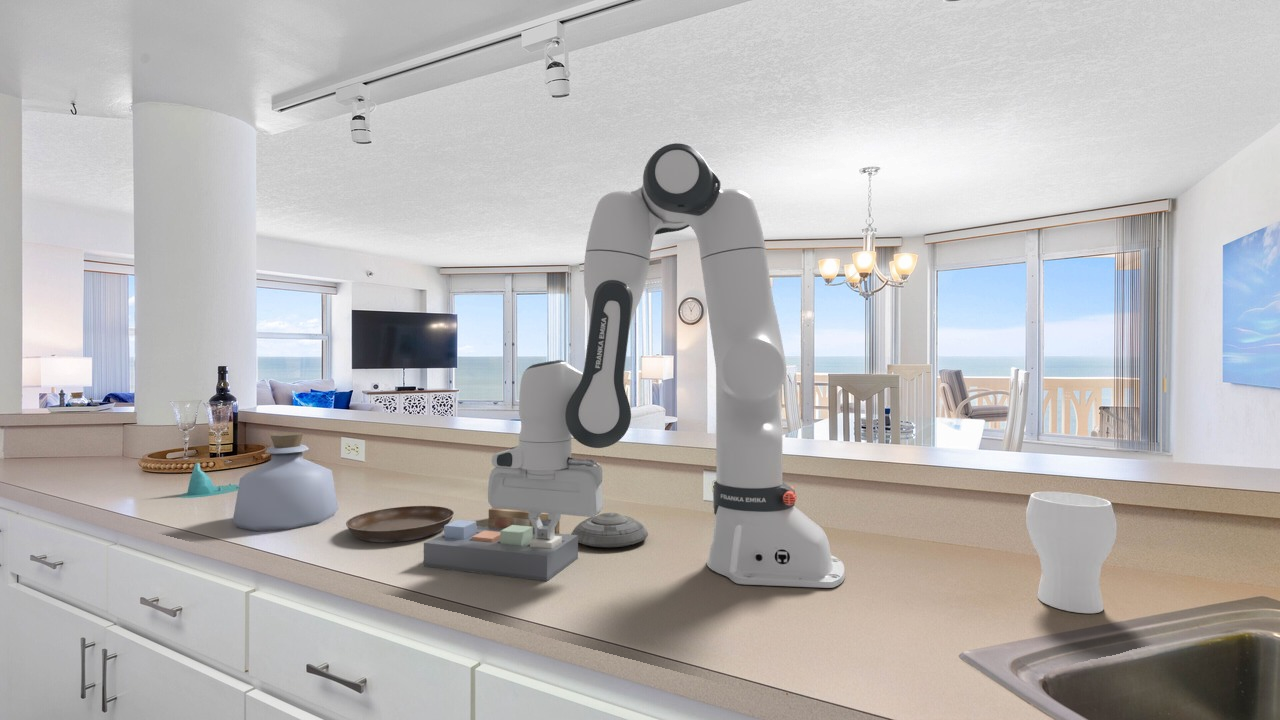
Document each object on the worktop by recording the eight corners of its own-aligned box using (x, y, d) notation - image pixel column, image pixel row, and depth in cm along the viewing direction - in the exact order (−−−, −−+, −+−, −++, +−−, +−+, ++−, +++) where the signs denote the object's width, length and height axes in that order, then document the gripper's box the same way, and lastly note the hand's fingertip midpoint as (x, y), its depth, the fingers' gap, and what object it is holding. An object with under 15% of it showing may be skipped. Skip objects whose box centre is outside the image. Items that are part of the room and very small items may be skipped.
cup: (1085, 624, 82) (1085, 510, 82) (1009, 595, 92) (1009, 494, 91) (1133, 610, 86) (1133, 502, 86) (1056, 585, 96) (1056, 488, 96)
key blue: (476, 542, 111) (476, 521, 111) (463, 548, 107) (463, 527, 107) (457, 540, 112) (457, 519, 112) (444, 546, 109) (444, 525, 109)
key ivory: (562, 558, 106) (561, 536, 106) (551, 565, 102) (551, 543, 102) (541, 555, 107) (540, 534, 107) (529, 563, 103) (529, 540, 103)
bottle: (357, 514, 140) (357, 431, 140) (271, 537, 123) (271, 442, 123) (302, 505, 150) (302, 427, 150) (214, 524, 132) (214, 436, 132)
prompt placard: (559, 551, 113) (559, 513, 113) (556, 554, 112) (556, 515, 111) (492, 544, 117) (492, 508, 117) (488, 547, 116) (488, 509, 116)
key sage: (532, 548, 108) (532, 526, 108) (521, 554, 104) (521, 532, 104) (512, 545, 109) (512, 524, 109) (500, 552, 105) (500, 530, 105)
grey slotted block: (578, 558, 109) (577, 535, 109) (547, 581, 98) (547, 555, 98) (464, 545, 117) (464, 524, 117) (423, 566, 105) (423, 542, 105)
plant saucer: (333, 531, 128) (333, 515, 128) (430, 514, 142) (430, 499, 142) (365, 554, 112) (364, 536, 112) (471, 533, 126) (471, 517, 126)
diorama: (266, 486, 173) (266, 456, 173) (192, 502, 155) (192, 467, 155) (237, 483, 178) (237, 453, 178) (161, 498, 159) (161, 464, 159)
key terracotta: (504, 553, 109) (504, 532, 109) (492, 560, 106) (492, 538, 106) (484, 551, 111) (484, 530, 111) (471, 558, 107) (471, 536, 107)
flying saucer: (632, 556, 111) (632, 526, 111) (557, 548, 116) (557, 519, 116) (658, 534, 125) (658, 507, 125) (589, 528, 130) (589, 501, 130)
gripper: (609, 457, 104) (608, 538, 104) (502, 450, 111) (502, 527, 111) (595, 462, 98) (594, 549, 98) (483, 455, 105) (482, 537, 105)
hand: (544, 538), depth 105 cm, fingers closed, pressing on key ivory
